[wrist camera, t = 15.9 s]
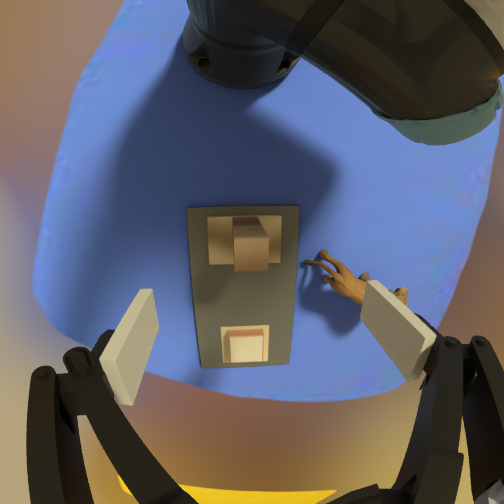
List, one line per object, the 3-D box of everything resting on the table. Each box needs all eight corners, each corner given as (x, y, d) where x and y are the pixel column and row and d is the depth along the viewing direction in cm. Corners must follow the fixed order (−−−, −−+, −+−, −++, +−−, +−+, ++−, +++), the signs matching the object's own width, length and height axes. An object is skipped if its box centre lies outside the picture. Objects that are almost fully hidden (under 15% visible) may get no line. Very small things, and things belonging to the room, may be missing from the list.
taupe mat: (187, 207, 34) (186, 208, 33) (298, 205, 35) (299, 206, 34) (202, 365, 41) (201, 367, 41) (288, 361, 43) (289, 363, 42)
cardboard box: (207, 216, 34) (198, 239, 23) (280, 215, 34) (302, 237, 24) (209, 262, 36) (203, 302, 25) (279, 260, 36) (298, 298, 26)
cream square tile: (228, 329, 39) (228, 336, 37) (262, 328, 39) (264, 335, 38) (229, 356, 40) (229, 363, 39) (261, 354, 41) (263, 361, 39)
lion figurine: (389, 272, 39) (421, 297, 31) (374, 302, 41) (403, 331, 32) (309, 243, 37) (332, 267, 28) (294, 278, 38) (312, 310, 29)
